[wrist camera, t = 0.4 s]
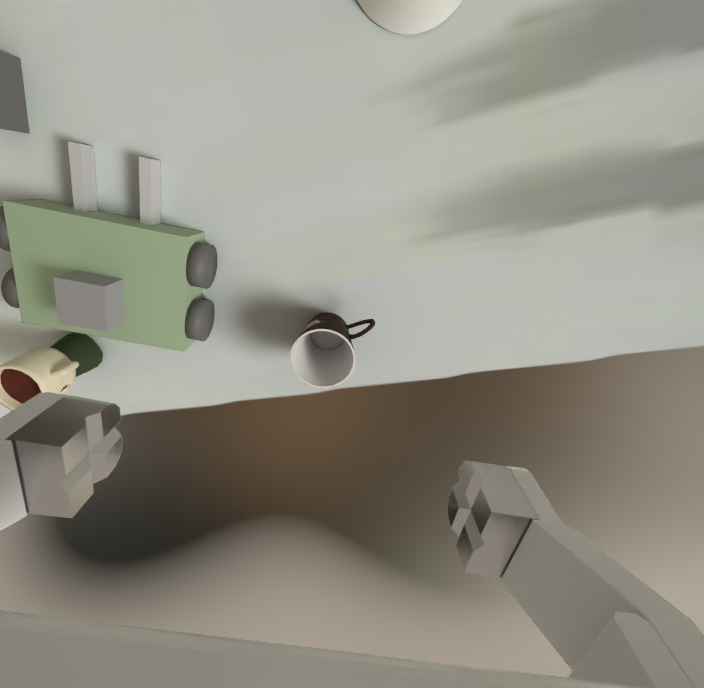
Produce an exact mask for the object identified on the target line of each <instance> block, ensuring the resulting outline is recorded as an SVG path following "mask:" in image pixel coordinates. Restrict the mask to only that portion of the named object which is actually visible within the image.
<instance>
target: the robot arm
mask: <svg viewBox="0 0 704 688" xmlns="http://www.w3.org/2000/svg"><path fill="white" fill-rule="evenodd" d="M357 1H358V3H359V4H360V6H361V8H362V9H363V10H364V12H365V13H366V14H367V15H368V16H369V17H370V18H371V19H372V20H373V21H374V22H375V23H377V24H378V25H379V26H381V27H383V28H384V29H386V30H389V31H391V32H394V33H399V34H418V33H422V32H425V31H428V30H430V29H432V28H434V27H436V26H438V25H439V24H441V23H442V22H443V21H444V20H446V19H447V18H448V17H449V16H450V15H451V14H452V13H453V12H454V11H455V10H456V8H457V7H458V6H459V5H460V4H461V3H462V1H463V0H357ZM120 420H121V415H120V408H119V407H118V406H117V405H116V404H113V403H108V402H102V401H97V400H91V399H86V398H80V397H75V396H68V395H63V394H57V393H51V392H44V393H39V394H37V395H36V396H34V397H33V398H31V399H30V400H28V401H26V402H25V403H23V404H22V405H20V406H19V407H17V408H16V409H14V410H13V411H11V412H10V413H8V414H6V415H5V416H3V417H2V418H0V531H1V530H2V529H4V528H6V527H8V526H9V525H11V524H13V523H15V522H16V521H18V520H20V519H22V518H23V517H25V516H27V513H30V514H40V515H49V516H58V517H67V518H72V517H73V516H74V515H75V514H76V513H77V511H78V510H79V509H80V508H81V507H82V506H83V504H84V503H85V502H86V501H87V500H88V499H89V497H90V496H91V495H92V494H93V493H94V492H93V484H94V483H96V482H98V481H100V480H102V479H104V478H106V477H107V476H108V475H109V474H110V473H111V471H112V470H113V469H114V468H115V466H116V464H117V462H118V459H119V457H120V455H121V450H122V435H121V434H120V433H119V431H118V430H117V429H116V428H115V426H116V425H117V424H118V422H119V421H120ZM458 475H459V478H460V482H459V483H457V484H456V485H455V486H453V487H452V489H451V492H450V495H449V499H448V518H449V522H450V526H451V528H452V529H453V530H454V531H455V533H456V534H457V535H458V536H459V539H458V541H457V543H456V547H457V551H458V554H459V557H460V561H461V564H462V568H463V571H464V572H466V573H472V574H478V575H483V576H489V577H495V578H501V582H502V583H503V584H504V585H505V587H506V588H507V589H508V590H509V592H510V593H511V594H512V596H513V597H514V598H515V599H516V600H517V602H518V603H519V604H520V605H521V607H522V608H523V609H524V611H525V612H526V613H527V614H528V615H529V617H530V618H531V619H532V620H533V622H534V623H535V624H536V626H537V627H538V628H539V629H540V631H541V632H542V633H543V634H544V636H545V637H546V638H547V639H548V640H549V642H550V643H551V644H552V646H553V647H554V648H555V649H556V651H557V652H558V653H559V654H560V656H561V657H562V658H563V659H564V661H565V662H566V663H567V664H568V666H569V667H570V668H571V669H572V671H571V672H570V673H569V675H568V676H567V677H566V678H563V677H555V676H547V675H537V674H530V673H522V672H513V671H505V670H496V669H488V668H479V667H472V666H463V665H455V664H446V663H438V662H429V661H421V660H413V659H403V658H395V657H387V656H378V655H370V654H362V653H353V652H345V651H336V650H328V649H320V648H311V647H302V646H294V645H285V644H277V643H269V642H260V641H253V640H243V639H236V638H227V637H219V636H211V635H202V634H193V633H186V632H178V631H169V630H161V629H153V628H144V627H135V626H128V625H120V624H119V625H118V624H111V623H103V622H94V621H86V620H78V619H69V618H61V617H53V616H44V615H35V614H28V613H19V612H11V611H3V610H0V688H704V635H703V634H702V633H701V631H700V630H699V629H698V627H697V626H696V625H695V624H694V622H693V621H692V620H691V619H690V618H689V617H687V616H686V615H685V614H683V613H682V612H681V611H680V610H678V609H677V608H676V607H674V606H673V605H672V604H671V603H669V602H668V601H667V600H665V599H664V598H663V597H661V596H660V595H659V594H658V593H656V592H655V591H654V590H652V589H651V588H650V587H649V586H647V585H646V584H645V583H643V582H642V581H641V580H639V579H638V578H637V577H636V576H634V575H633V574H632V573H630V572H629V571H628V570H627V569H625V568H624V567H623V566H621V565H620V564H619V563H618V562H616V561H615V560H614V559H613V558H611V557H610V556H609V555H607V554H606V553H605V552H604V551H602V550H601V549H600V548H598V547H597V546H596V545H594V544H593V543H592V542H591V541H589V540H588V539H587V538H585V537H584V536H583V535H582V534H580V533H579V532H578V531H576V530H575V529H574V528H572V527H571V526H570V525H567V524H562V522H561V520H560V519H559V517H558V516H557V514H556V513H555V511H554V509H553V508H552V506H551V504H550V503H549V501H548V500H547V498H546V496H545V495H544V493H543V492H542V490H541V488H540V487H539V485H538V484H537V482H536V480H535V479H534V477H533V476H532V474H531V473H530V472H529V471H528V470H527V469H525V468H517V467H509V466H498V465H491V464H485V463H479V462H472V461H464V462H463V463H462V465H461V466H460V469H459V471H458Z"/></svg>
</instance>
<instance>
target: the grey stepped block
mask: <svg viewBox="0 0 704 688" xmlns="http://www.w3.org/2000/svg"><path fill="white" fill-rule="evenodd" d="M0 129H6V130H12V131H18V132H24V133H29V125H28V117H27V109H26V101H25V93H24V84H23V76H22V68H21V60H20V58H18V57H15V56H13V55H10V54H8V53H5V52H2V51H0Z"/></svg>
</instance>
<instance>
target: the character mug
mask: <svg viewBox="0 0 704 688" xmlns="http://www.w3.org/2000/svg"><path fill="white" fill-rule="evenodd" d="M102 356H103V353H102V351H101V349H100V348H99V346H98V345H97V344H96V343H95V342H94V340H93V339H91V338H90V337H88V336H86V335H85V334H81V333H72V334H68V335H66V336H65V337H63V338H62V339H60V340H59V341H58V342H56V343H55V344H54V345H52V346H51V347H37V348H34V349H32V350H30V351H28V352H26V353H24V354H22V355H20V356H18V357H16V358H14V359H12V360H10V361H8V362H6V363H4V364H2V365H1V366H0V404H2V405H3V406H5V407H7V408H8V409H10V410H12V411H13V410H14V409H16V408H17V407H19V406H20V405H22V404H23V403H25V402H26V401H28V400H30V399H31V398H33V397H34V396H36V395H37V394H39V393H44V392H51V393H57V394H63V393H64V392H66V391H68V390H69V389H71V388H72V386H73V385H74V383H75V378H76V377H77V376H79V375H81V374H83V373H85V372H88V371H90V370H92V369H93V368H95V367H97V366H98V365H99V364H100V363H101V362H102Z"/></svg>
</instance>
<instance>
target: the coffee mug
mask: <svg viewBox="0 0 704 688" xmlns="http://www.w3.org/2000/svg"><path fill="white" fill-rule="evenodd" d="M365 323H370V325H369V326H368V327H367V328H366V329H364V330H363V331H361V332H359V333H357V334H354V335H351V334H350V335H349V331H348V329H349V328H352V327H355V326H358V325H362V324H365ZM374 325H375V321H374V320H373V319H367V320H363V321H360V322H356V323H353V324H350V325H346V323H345V321H344V320H343V319H342V318H341V317H340V316H338V315H336V314H333V313H322V314H319V315H317V316H315V317H314V318H313V319H312V320H311V321H310V322H309V324H308V325H307V326H306V328H305V329H304V331H303V332H302V333H301V335H300V336H299V337H298V339H297V340H296V341H295V343H294V345H293V346H292V349H291V352H290V362H291V366H292V369H293V371H294V373H295V374H296V375H297V377H298V378H299V379H300V380H302V381H303V382H304V383H306V384H308V385H310V386H313V387H316V388H331V387H335V386H337V385H340V384H341V383H343V382H344V381H346V380H347V379H348V378H349V377H350V375H351V374H352V372H353V370H354V367H355V362H356V357H355V352H354V348H353V345H352V342H351V339H354V338H357V337H360V336H362V335H364V334H365V333H367V332H368V331H369V330H371V329H372V328H373V327H374Z"/></svg>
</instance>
